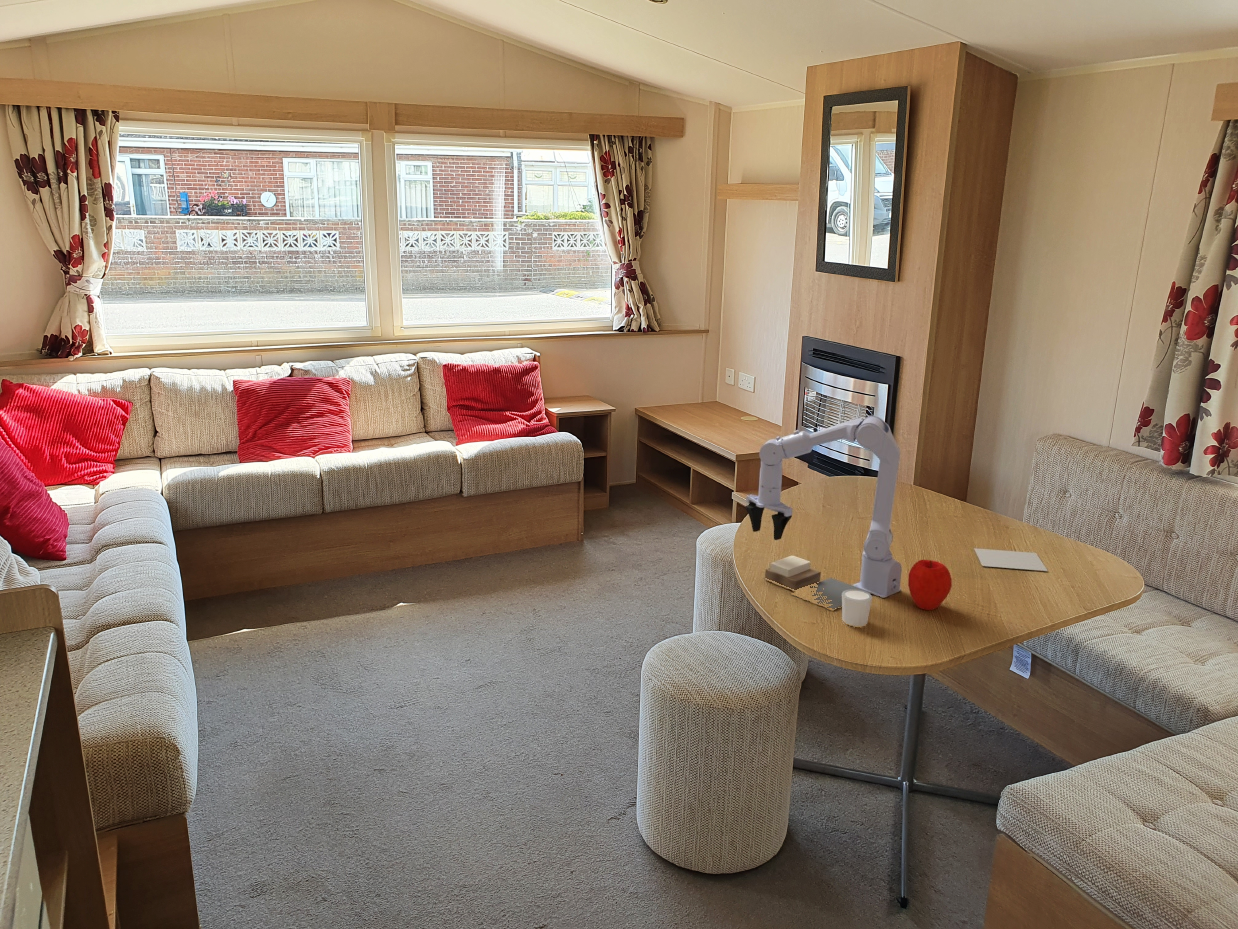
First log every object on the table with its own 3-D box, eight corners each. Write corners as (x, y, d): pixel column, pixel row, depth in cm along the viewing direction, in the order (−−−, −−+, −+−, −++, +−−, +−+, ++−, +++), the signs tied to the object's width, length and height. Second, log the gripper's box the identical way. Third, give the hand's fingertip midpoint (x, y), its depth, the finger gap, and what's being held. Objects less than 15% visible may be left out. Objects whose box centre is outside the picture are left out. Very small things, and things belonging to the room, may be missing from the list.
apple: (952, 604, 222) (957, 558, 219) (943, 619, 214) (949, 571, 211) (910, 595, 227) (915, 550, 224) (901, 609, 219) (905, 562, 216)
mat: (871, 594, 228) (871, 592, 227) (832, 611, 218) (832, 609, 217) (830, 579, 237) (830, 577, 237) (791, 594, 227) (791, 593, 227)
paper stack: (1056, 587, 235) (1057, 584, 234) (955, 578, 239) (955, 576, 239) (1035, 555, 257) (1035, 552, 256) (943, 548, 261) (943, 545, 261)
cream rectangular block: (810, 569, 236) (810, 561, 235) (787, 577, 230) (788, 570, 230) (792, 562, 240) (792, 555, 240) (769, 570, 234) (770, 563, 234)
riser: (819, 582, 235) (820, 572, 234) (795, 592, 228) (795, 581, 228) (789, 571, 242) (790, 560, 241) (764, 580, 236) (765, 569, 235)
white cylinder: (864, 616, 215) (867, 588, 213) (873, 628, 209) (876, 600, 207) (836, 616, 215) (838, 588, 213) (844, 629, 208) (846, 600, 207)
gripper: (739, 481, 238) (736, 530, 242) (780, 495, 227) (776, 546, 231) (758, 477, 242) (754, 525, 246) (799, 490, 231) (795, 540, 235)
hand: (766, 535), depth 239 cm, fingers open, 7 cm apart
